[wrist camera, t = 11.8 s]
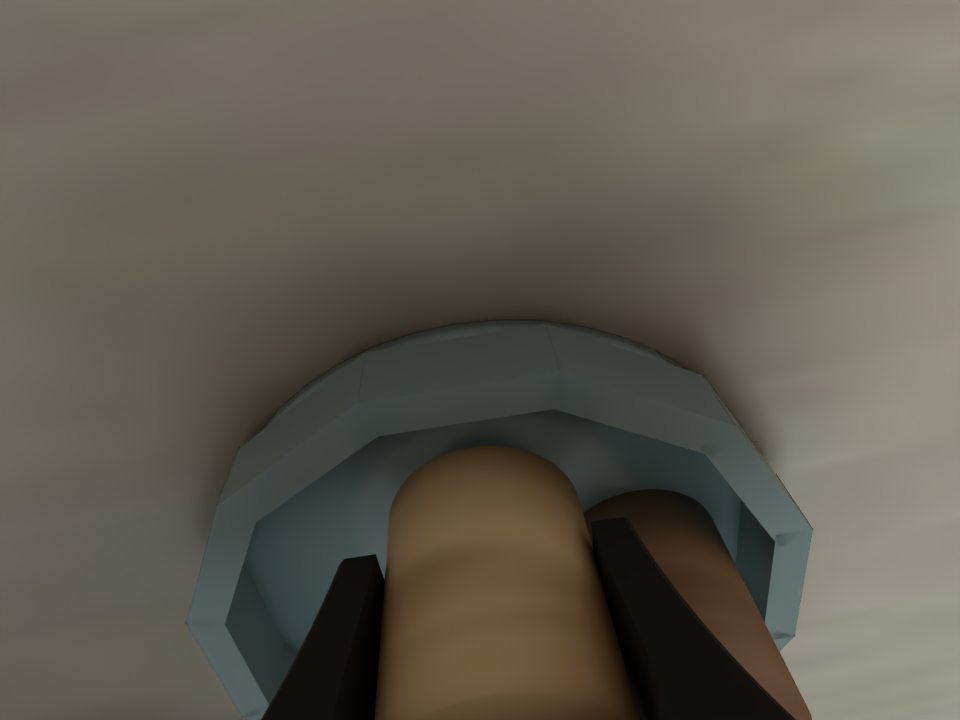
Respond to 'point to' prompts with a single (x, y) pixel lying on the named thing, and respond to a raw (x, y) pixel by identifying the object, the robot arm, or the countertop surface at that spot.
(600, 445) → the ring dish
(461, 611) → the oak bead
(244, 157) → the countertop surface
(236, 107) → the countertop surface
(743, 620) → the walnut bead
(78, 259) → the countertop surface
